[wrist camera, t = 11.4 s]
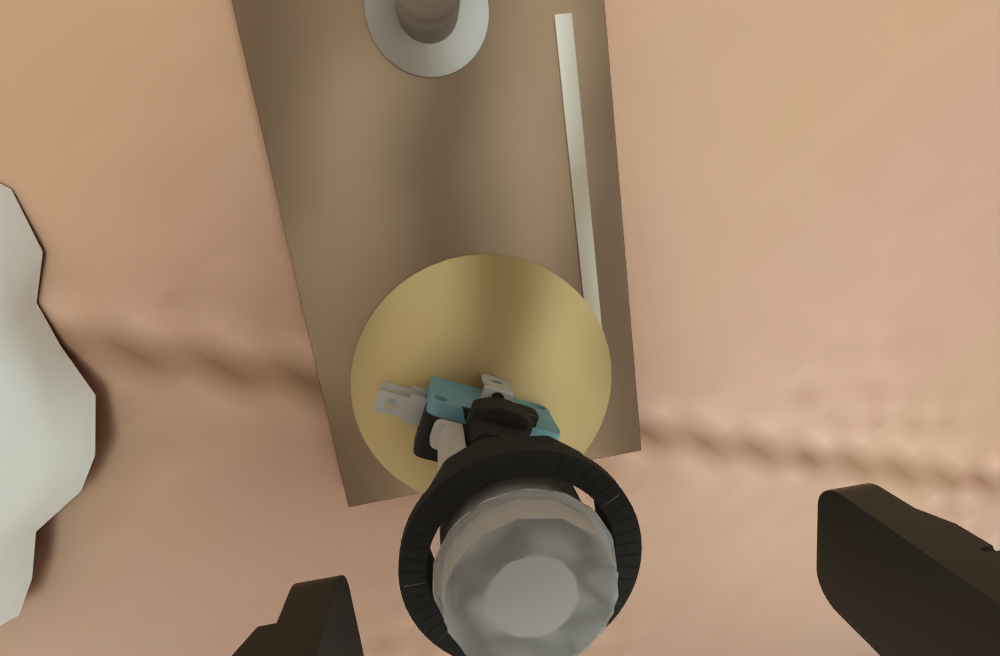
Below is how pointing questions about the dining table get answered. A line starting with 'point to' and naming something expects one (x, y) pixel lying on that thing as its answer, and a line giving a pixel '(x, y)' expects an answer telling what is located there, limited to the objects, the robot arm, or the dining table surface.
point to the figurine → (33, 411)
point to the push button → (509, 527)
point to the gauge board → (449, 212)
